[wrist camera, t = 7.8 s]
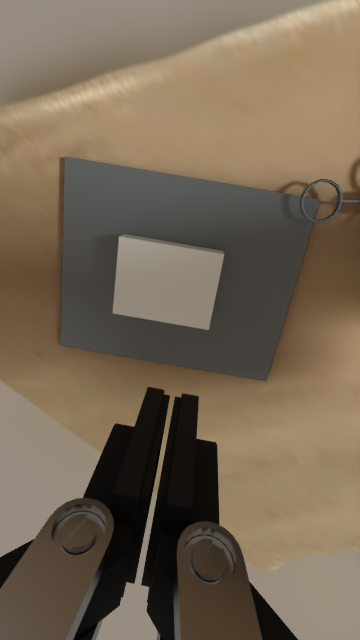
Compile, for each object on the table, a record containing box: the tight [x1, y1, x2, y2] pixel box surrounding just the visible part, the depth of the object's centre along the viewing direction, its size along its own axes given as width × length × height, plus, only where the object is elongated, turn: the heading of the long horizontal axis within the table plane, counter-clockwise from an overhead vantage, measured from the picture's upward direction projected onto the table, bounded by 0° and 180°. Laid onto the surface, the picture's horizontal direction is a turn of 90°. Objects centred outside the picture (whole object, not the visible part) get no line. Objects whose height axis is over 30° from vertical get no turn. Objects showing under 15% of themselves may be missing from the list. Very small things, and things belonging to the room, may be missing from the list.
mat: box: [61, 157, 320, 381], centre depth 30 cm, size 22×18×1 cm
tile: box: [113, 234, 224, 330], centre depth 29 cm, size 2×7×9 cm
